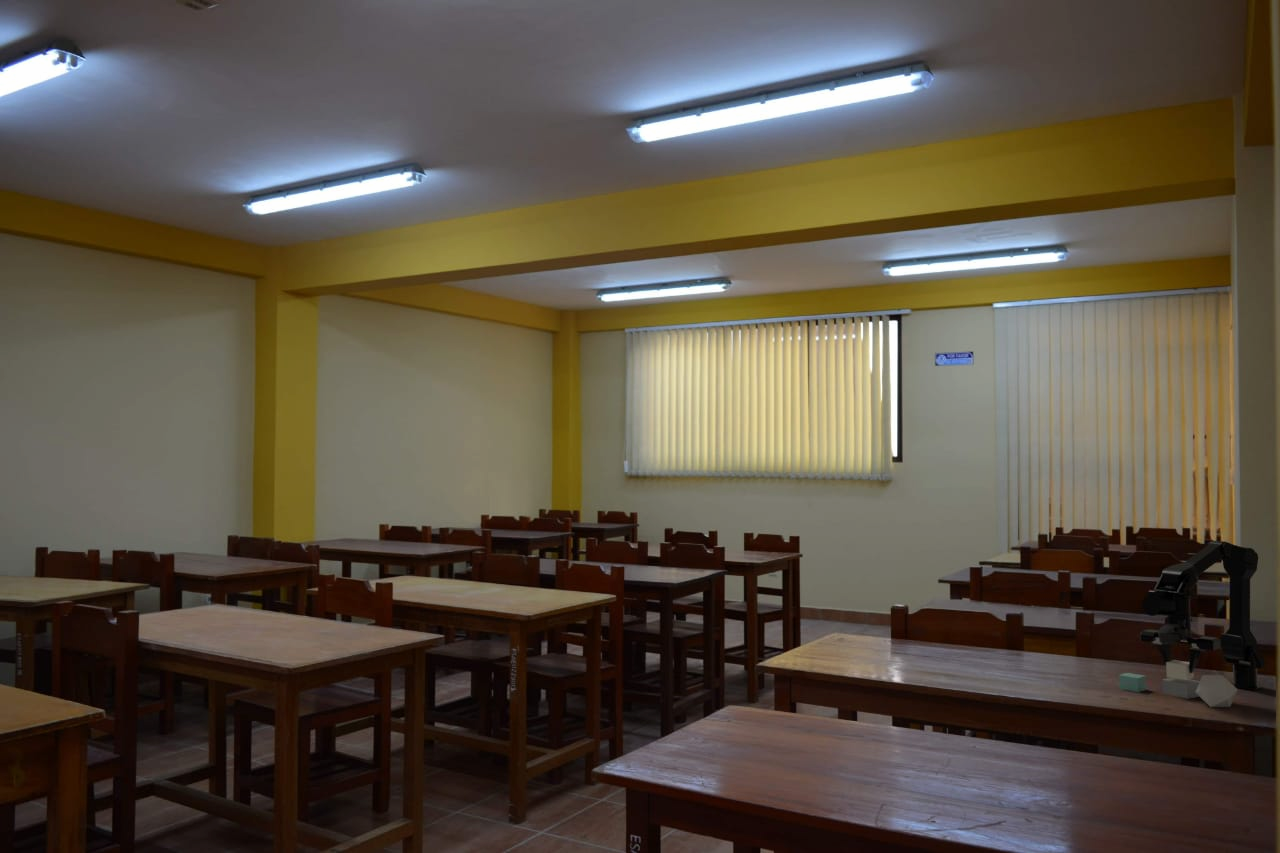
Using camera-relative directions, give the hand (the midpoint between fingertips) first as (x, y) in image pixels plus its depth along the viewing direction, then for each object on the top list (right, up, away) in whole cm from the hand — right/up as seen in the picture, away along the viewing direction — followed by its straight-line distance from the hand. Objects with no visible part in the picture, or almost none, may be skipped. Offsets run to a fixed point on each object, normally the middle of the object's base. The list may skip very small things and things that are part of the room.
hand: (1180, 671), depth 254 cm
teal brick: (-10, -7, +6) cm, 13 cm away
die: (+2, -6, -13) cm, 14 cm away
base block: (0, -7, 0) cm, 7 cm away
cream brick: (0, -2, 0) cm, 2 cm away
